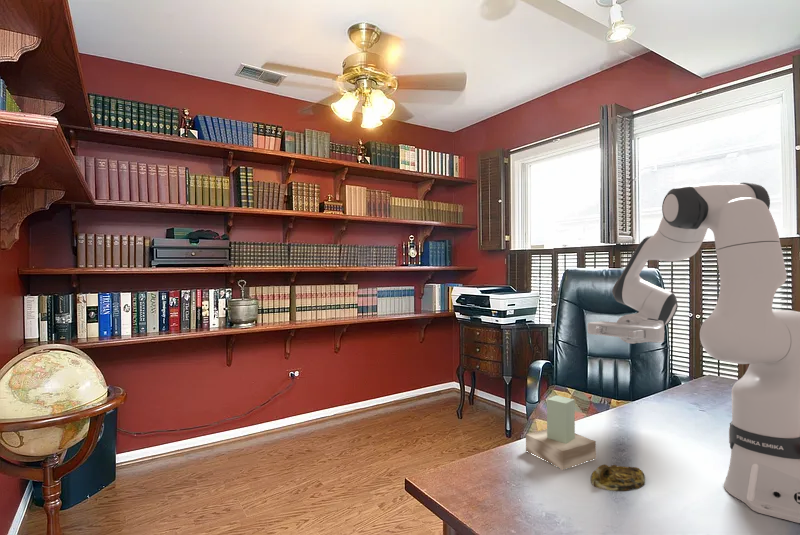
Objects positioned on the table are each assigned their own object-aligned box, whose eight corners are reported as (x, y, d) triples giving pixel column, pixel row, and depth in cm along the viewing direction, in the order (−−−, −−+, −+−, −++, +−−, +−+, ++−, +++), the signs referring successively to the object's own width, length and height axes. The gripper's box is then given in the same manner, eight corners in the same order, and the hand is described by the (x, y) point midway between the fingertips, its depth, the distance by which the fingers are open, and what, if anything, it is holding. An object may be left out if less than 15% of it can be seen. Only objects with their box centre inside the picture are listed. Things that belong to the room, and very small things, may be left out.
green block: (574, 438, 109) (574, 399, 109) (566, 443, 106) (565, 403, 106) (556, 432, 113) (556, 395, 113) (547, 438, 109) (547, 399, 109)
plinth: (595, 461, 107) (595, 441, 107) (562, 472, 101) (562, 451, 101) (557, 444, 118) (557, 426, 118) (526, 453, 112) (525, 434, 112)
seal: (620, 470, 104) (579, 484, 97) (618, 450, 105) (576, 462, 98) (658, 482, 96) (616, 498, 89) (655, 460, 97) (613, 474, 90)
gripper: (598, 315, 138) (578, 319, 129) (669, 321, 123) (652, 325, 113) (598, 335, 138) (578, 339, 129) (669, 342, 122) (653, 348, 113)
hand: (613, 333), depth 121 cm, fingers open, 8 cm apart
